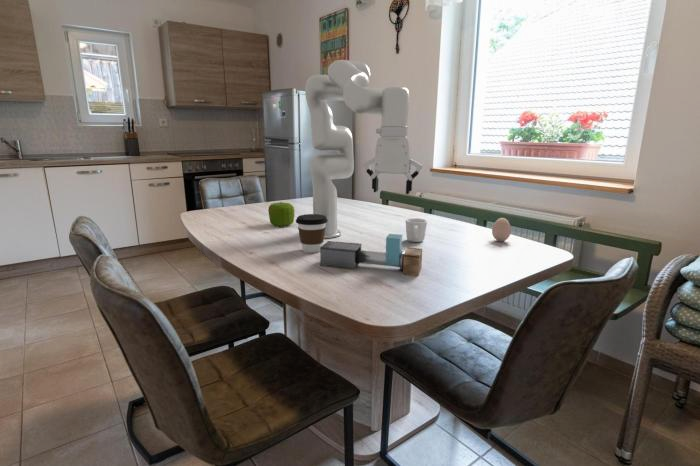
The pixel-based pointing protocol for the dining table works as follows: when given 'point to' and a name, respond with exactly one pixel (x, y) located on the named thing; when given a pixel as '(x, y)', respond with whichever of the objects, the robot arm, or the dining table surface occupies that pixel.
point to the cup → (415, 229)
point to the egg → (501, 229)
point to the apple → (281, 214)
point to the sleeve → (339, 254)
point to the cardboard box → (412, 261)
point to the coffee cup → (311, 231)
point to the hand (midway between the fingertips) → (391, 192)
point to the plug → (390, 258)
